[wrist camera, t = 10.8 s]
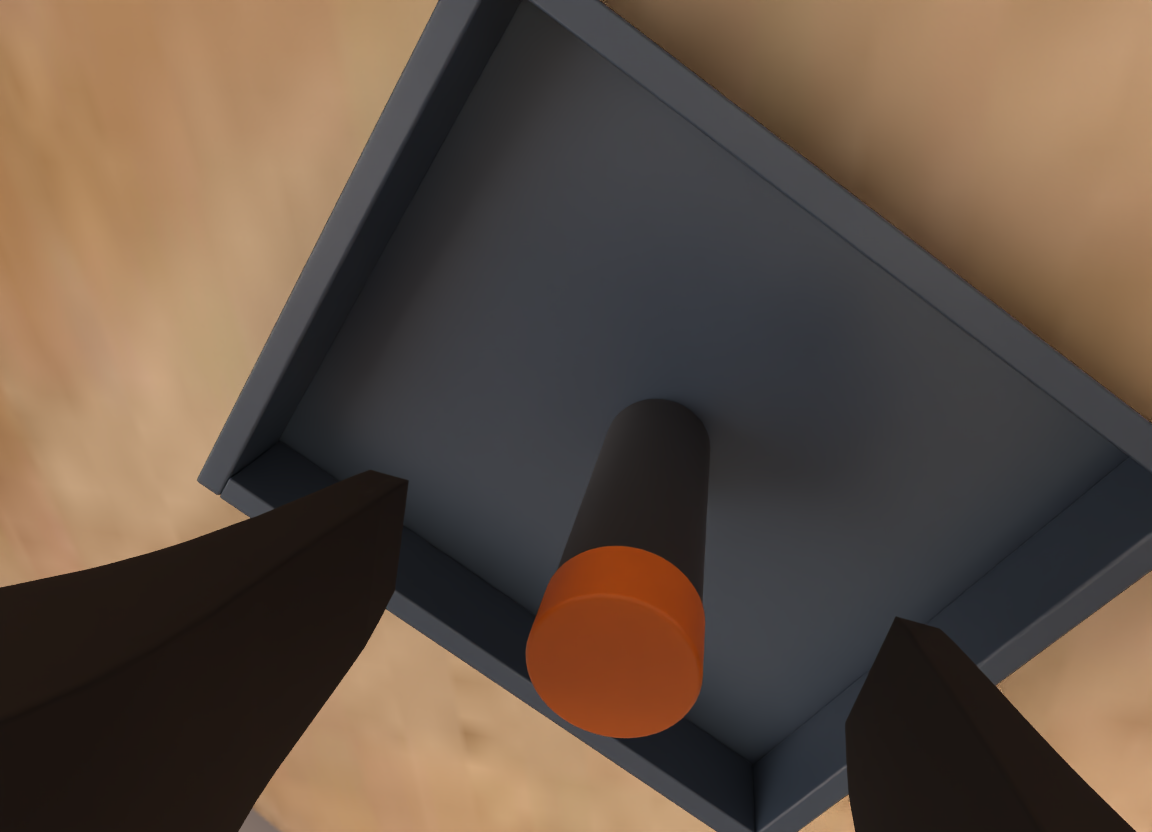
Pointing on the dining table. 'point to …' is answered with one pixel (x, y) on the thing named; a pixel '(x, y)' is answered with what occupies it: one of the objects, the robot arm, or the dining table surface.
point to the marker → (630, 582)
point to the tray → (680, 396)
